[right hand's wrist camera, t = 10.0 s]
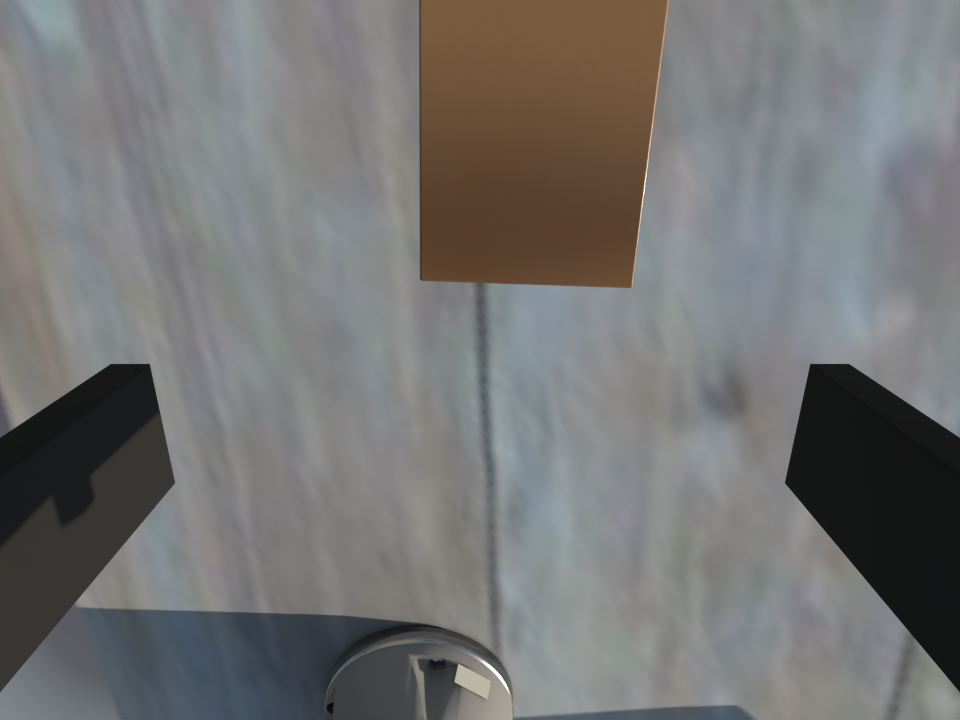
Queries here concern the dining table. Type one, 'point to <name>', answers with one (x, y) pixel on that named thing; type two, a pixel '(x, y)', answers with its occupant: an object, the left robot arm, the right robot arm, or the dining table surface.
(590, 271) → the box
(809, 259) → the dining table surface
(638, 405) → the dining table surface
